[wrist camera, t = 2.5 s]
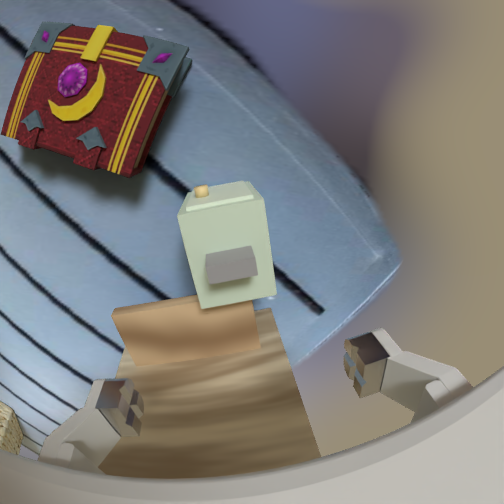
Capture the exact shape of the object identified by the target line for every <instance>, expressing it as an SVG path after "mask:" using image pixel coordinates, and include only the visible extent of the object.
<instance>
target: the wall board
mask: <svg viewBox="0 0 504 504" xmlns="http://www.w3.org/2000/svg"><path fill="white" fill-rule="evenodd" d="M111 317H112V319H113V321H114V323H115V325H116V328H117V330H118V332H119V334H120V336H121V338H122V340H123V342H124V344H125V349H124V352H123V355H122V358H121V361H120V364H119V367H118V371H117V374H116V377H115V379H120V378H129V379H131V380H132V382H133V383H134V390H136V391H138V392H139V393H140V395H141V396H142V399H143V402H144V413H143V415H142V416H141V417H140V418H139V420H140V421H141V423H142V425H141V431H140V436H132V437H121V438H120V440H119V441H118V442H117V443H116V445H115V446H114V447H113V449H112V450H111V451H110V452H109V454H108V455H107V456H106V457H105V459H104V460H103V461H102V463H101V464H100V465H99V466H98V468H99V469H100V470H101V471H103V472H104V473H105V474H106V475H112V476H122V477H134V478H156V479H182V478H204V477H217V476H227V475H236V474H244V473H250V472H257V471H263V470H268V469H274V468H279V467H284V466H288V465H293V464H297V463H301V462H305V461H309V460H313V459H316V458H320V457H321V455H320V452H319V449H318V446H317V443H316V440H315V437H314V435H313V431H312V428H311V425H310V422H309V419H308V416H307V414H306V411H305V408H304V405H303V402H302V399H301V396H300V393H299V390H298V387H297V384H296V381H295V378H294V376H293V372H292V369H291V366H290V364H289V361H288V358H287V355H286V352H285V349H284V346H283V343H282V340H281V337H280V334H279V331H278V328H277V325H276V322H275V319H274V316H273V314H272V311H271V308H267V309H262V310H257V311H254V308H253V303H252V300H248V301H243V302H237V303H232V304H227V305H221V306H216V307H210V308H205V309H201V305H200V302H199V298H198V295H191V296H186V297H180V298H174V299H169V300H163V301H157V302H151V303H145V304H139V305H132V306H126V307H120V308H115V309H114V311H113V313H112V315H111Z"/></svg>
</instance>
